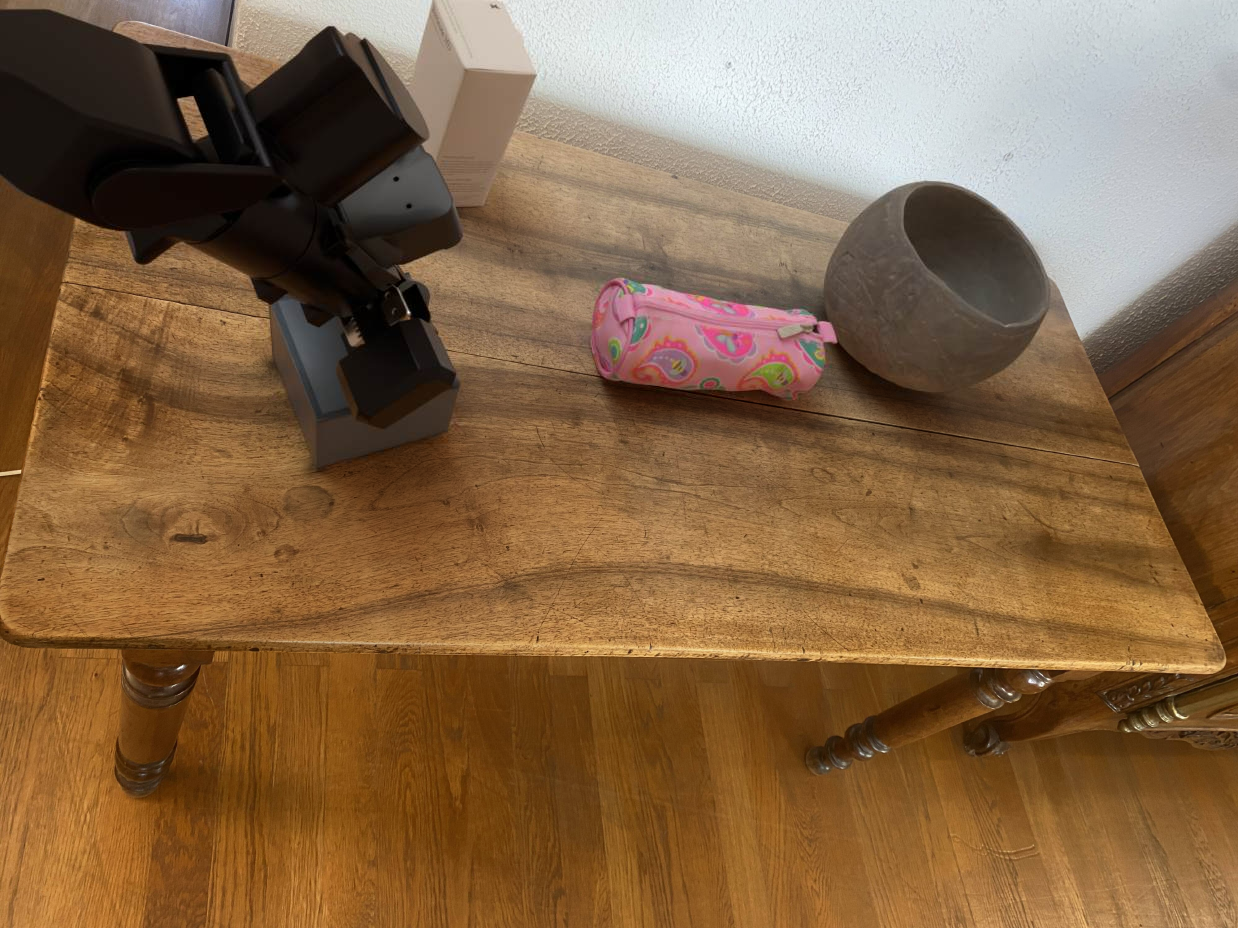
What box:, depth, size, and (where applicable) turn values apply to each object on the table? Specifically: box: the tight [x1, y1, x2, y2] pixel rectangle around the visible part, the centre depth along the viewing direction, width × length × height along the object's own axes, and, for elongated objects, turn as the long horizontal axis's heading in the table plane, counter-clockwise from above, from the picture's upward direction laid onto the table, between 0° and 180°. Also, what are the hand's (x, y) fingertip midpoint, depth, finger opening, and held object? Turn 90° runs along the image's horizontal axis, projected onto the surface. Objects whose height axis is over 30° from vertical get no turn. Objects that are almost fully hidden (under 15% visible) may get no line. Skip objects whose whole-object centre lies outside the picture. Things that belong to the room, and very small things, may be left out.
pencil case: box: [590, 277, 838, 402], centre depth 78 cm, size 21×9×9 cm, turn 99°
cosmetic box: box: [407, 0, 538, 208], centre depth 75 cm, size 8×7×16 cm
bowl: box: [822, 180, 1052, 393], centre depth 88 cm, size 21×21×15 cm
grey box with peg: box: [268, 271, 461, 469], centre depth 61 cm, size 12×10×10 cm
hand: (425, 320), depth 61 cm, fingers closed on grey box with peg, 2 cm apart
